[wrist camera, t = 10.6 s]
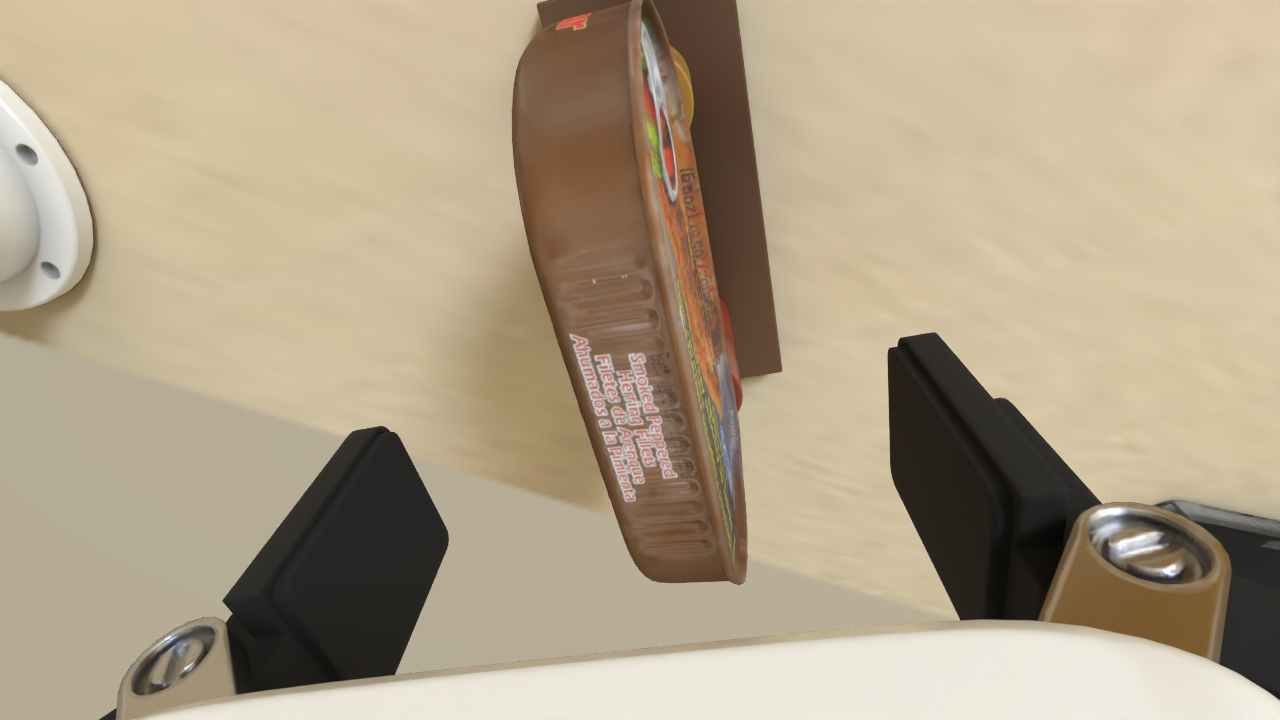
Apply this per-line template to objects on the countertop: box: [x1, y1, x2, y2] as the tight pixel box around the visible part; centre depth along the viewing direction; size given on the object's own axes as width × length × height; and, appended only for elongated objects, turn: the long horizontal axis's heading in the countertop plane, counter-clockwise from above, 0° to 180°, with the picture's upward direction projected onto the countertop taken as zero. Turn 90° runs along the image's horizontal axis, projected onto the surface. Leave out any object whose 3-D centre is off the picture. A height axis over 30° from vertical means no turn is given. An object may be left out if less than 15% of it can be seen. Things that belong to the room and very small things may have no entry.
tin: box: [512, 0, 748, 585], centre depth 16 cm, size 15×3×8 cm, turn 12°
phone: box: [1158, 501, 1280, 591], centre depth 34 cm, size 8×1×15 cm
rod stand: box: [537, 0, 782, 412], centre depth 23 cm, size 7×17×8 cm, turn 13°
